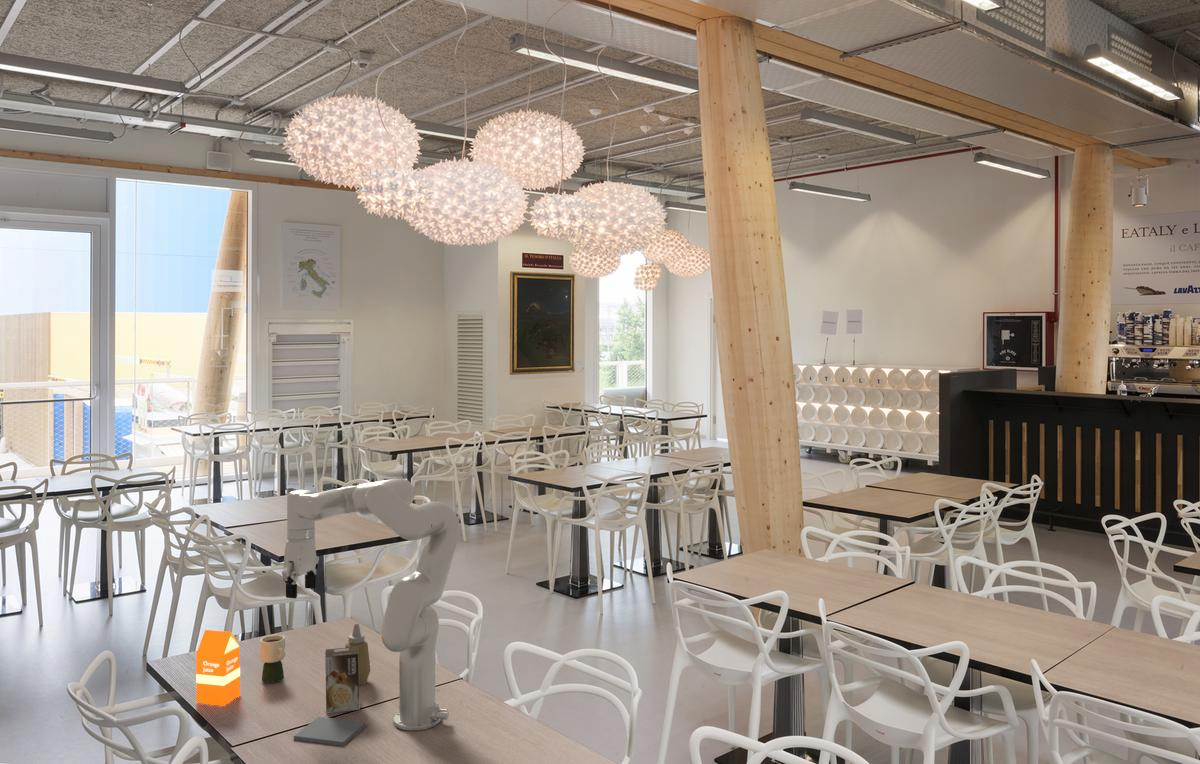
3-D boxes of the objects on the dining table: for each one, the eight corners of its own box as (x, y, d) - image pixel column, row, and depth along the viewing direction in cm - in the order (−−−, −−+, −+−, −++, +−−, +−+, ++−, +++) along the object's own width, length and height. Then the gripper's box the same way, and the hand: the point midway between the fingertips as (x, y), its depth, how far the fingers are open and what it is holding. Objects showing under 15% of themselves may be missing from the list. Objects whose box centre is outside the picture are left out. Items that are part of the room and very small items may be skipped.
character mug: (293, 681, 262) (293, 639, 262) (272, 689, 257) (272, 645, 256) (273, 673, 269) (273, 631, 269) (252, 680, 264) (251, 637, 263)
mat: (366, 725, 233) (366, 722, 233) (343, 745, 221) (343, 742, 221) (319, 720, 236) (318, 716, 236) (293, 739, 225) (293, 735, 225)
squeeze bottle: (353, 690, 257) (353, 630, 256) (337, 683, 261) (336, 624, 261) (376, 682, 263) (376, 623, 262) (359, 675, 268) (359, 617, 267)
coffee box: (359, 701, 249) (359, 646, 248) (359, 710, 243) (359, 653, 242) (325, 704, 246) (325, 648, 246) (325, 713, 240) (324, 656, 240)
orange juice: (224, 706, 244) (223, 636, 243) (196, 703, 246) (195, 634, 245) (240, 695, 252) (240, 627, 251) (213, 693, 254) (213, 625, 253)
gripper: (305, 526, 258) (305, 583, 259) (271, 539, 241) (271, 600, 242) (328, 528, 256) (328, 585, 257) (296, 541, 239) (296, 602, 240)
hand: (301, 592), depth 249 cm, fingers open, 9 cm apart
